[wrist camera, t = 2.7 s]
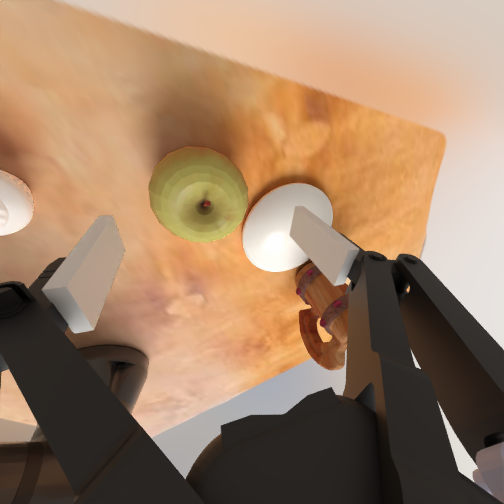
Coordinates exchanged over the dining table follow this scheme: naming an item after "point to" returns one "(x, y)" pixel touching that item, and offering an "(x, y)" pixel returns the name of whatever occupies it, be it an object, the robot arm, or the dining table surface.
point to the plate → (281, 226)
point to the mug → (323, 316)
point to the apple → (198, 194)
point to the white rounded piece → (14, 204)
